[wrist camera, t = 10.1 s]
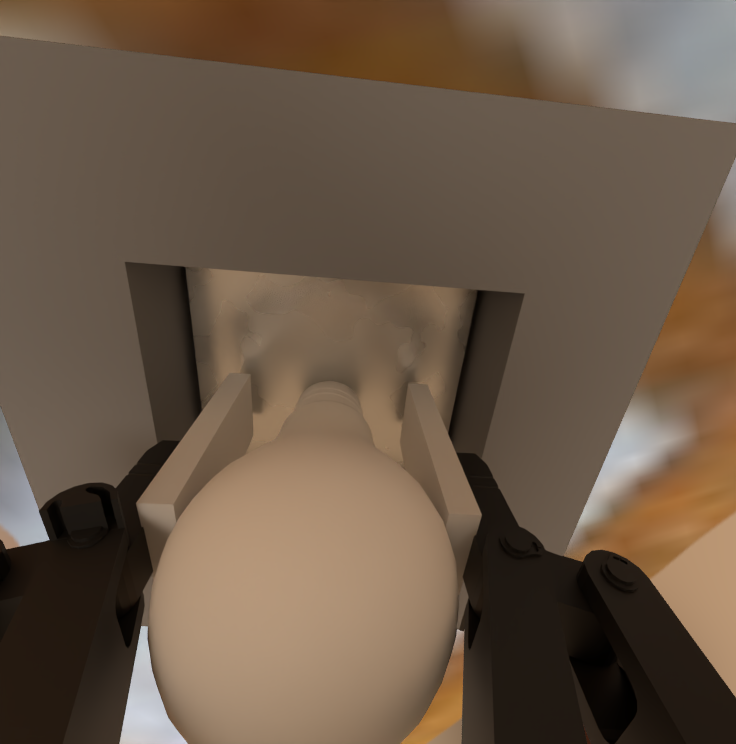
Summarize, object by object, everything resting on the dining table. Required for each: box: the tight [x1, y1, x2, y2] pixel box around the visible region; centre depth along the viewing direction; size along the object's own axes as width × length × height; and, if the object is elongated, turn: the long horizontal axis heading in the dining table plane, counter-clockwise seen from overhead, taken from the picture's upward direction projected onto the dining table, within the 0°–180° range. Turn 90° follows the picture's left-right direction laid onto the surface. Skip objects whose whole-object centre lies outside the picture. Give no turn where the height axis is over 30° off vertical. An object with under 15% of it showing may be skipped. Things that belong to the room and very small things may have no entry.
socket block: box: [0, 36, 736, 629], centre depth 16 cm, size 20×20×7 cm
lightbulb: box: [148, 381, 459, 744], centre depth 10 cm, size 6×6×11 cm
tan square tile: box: [185, 267, 478, 470], centre depth 17 cm, size 10×10×3 cm
